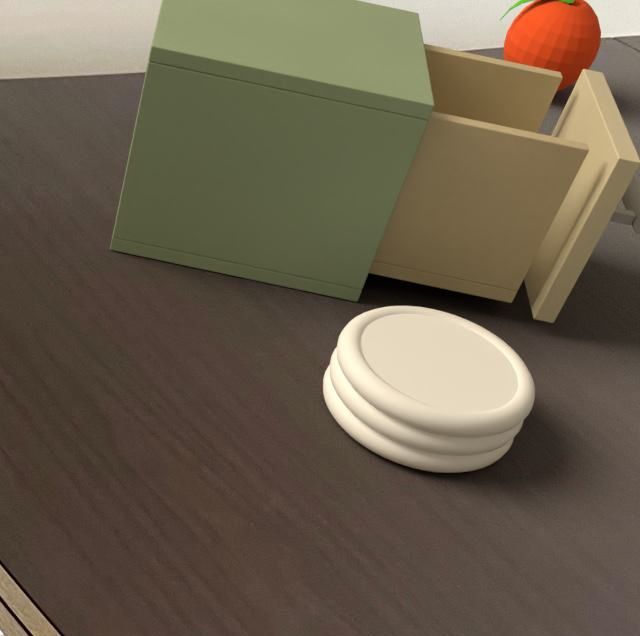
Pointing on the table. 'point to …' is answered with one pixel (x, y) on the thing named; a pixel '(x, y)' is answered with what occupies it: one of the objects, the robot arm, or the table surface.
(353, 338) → the cream round stack
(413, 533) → the table surface
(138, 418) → the table surface
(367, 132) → the cabinet
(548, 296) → the drawer
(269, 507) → the table surface
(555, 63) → the clementine
